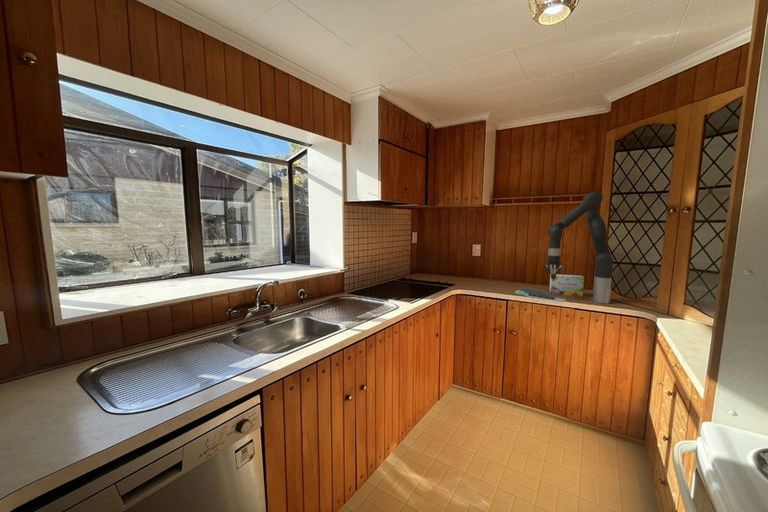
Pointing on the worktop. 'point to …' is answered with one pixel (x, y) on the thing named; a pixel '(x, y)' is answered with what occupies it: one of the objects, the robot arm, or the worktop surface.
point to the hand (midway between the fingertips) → (553, 279)
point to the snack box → (567, 285)
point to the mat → (548, 298)
